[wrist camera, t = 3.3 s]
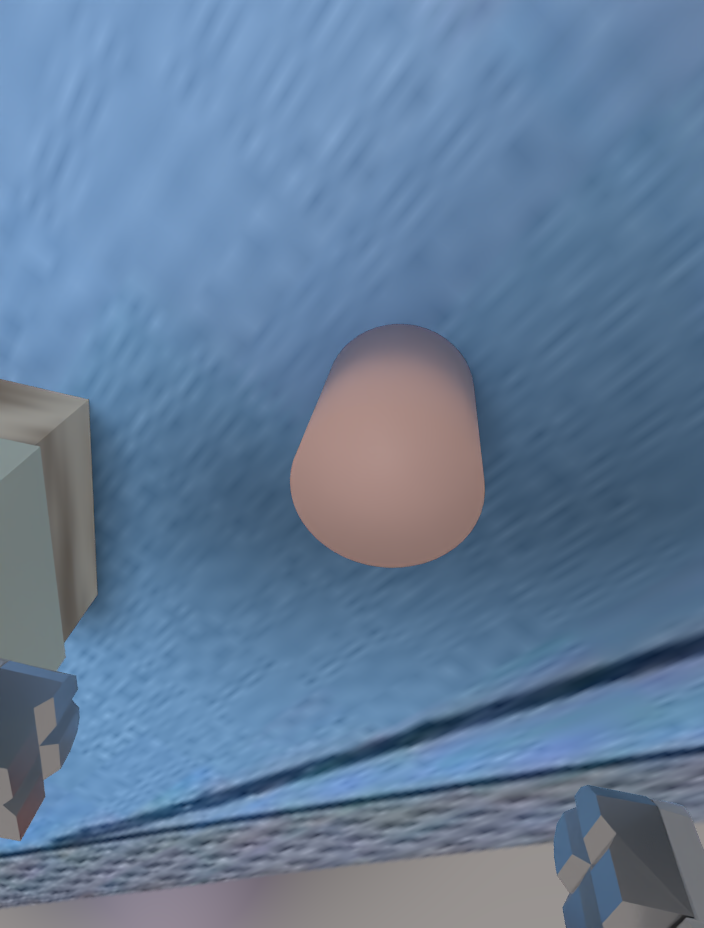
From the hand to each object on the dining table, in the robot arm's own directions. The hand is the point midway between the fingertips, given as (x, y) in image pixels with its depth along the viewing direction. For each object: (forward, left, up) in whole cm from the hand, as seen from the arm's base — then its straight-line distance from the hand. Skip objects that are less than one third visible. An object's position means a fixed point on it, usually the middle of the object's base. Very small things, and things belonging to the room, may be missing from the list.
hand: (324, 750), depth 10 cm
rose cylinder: (0, 0, -13) cm, 13 cm away
